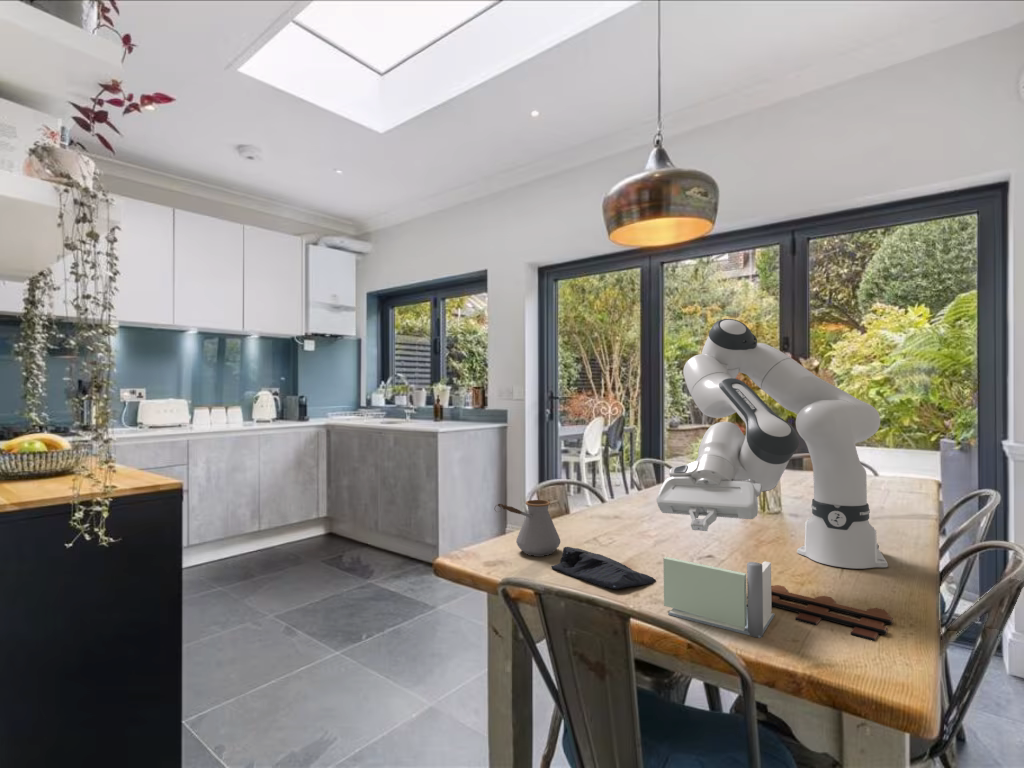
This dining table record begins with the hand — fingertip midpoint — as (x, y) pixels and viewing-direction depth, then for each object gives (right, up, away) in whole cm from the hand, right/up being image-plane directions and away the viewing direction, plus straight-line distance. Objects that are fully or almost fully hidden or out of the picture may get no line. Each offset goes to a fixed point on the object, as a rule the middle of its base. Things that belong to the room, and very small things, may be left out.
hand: (698, 528), depth 109 cm
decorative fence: (+20, -15, -7) cm, 26 cm away
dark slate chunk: (-17, -15, +14) cm, 27 cm away
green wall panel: (-3, -13, -10) cm, 17 cm away
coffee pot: (-34, -15, +28) cm, 46 cm away
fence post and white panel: (+7, -14, -13) cm, 20 cm away
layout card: (+1, -14, -9) cm, 16 cm away
